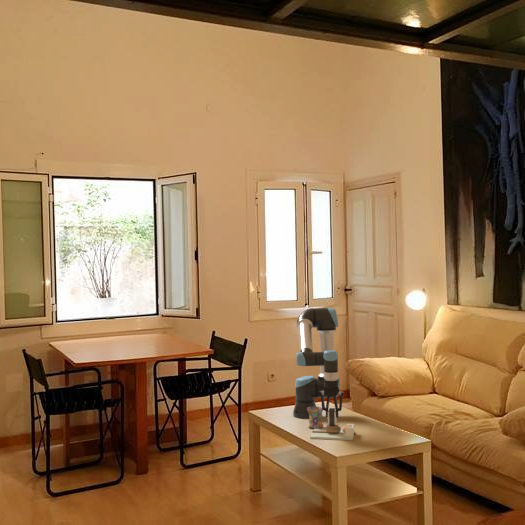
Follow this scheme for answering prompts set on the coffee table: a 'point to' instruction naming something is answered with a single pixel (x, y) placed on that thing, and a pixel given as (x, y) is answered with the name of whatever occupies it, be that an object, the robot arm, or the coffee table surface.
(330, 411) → the kicker
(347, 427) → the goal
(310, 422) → the mug
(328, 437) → the pitch
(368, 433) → the coffee table surface
